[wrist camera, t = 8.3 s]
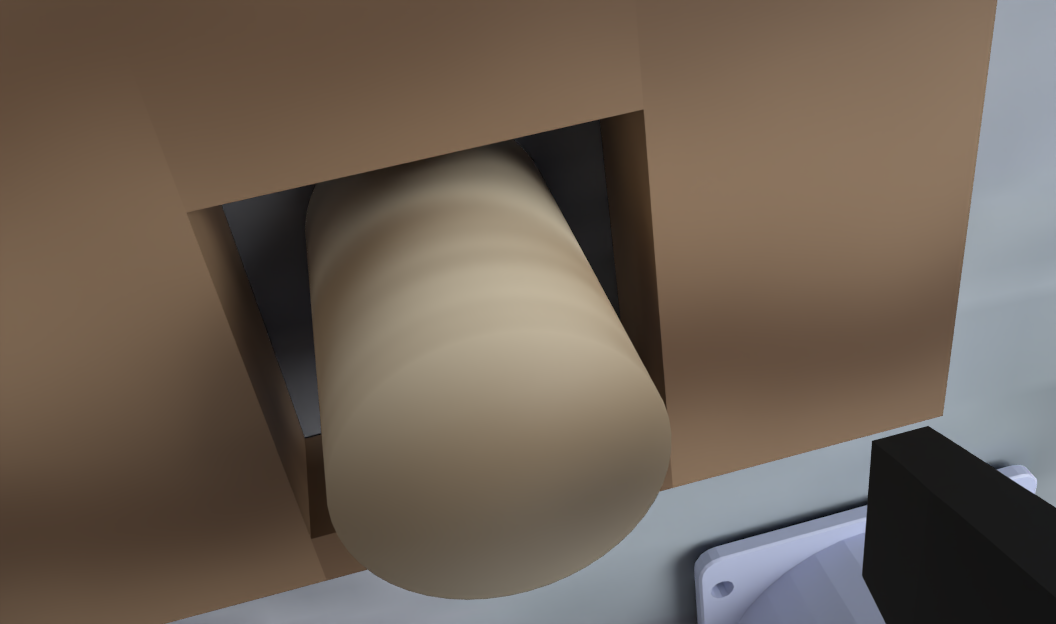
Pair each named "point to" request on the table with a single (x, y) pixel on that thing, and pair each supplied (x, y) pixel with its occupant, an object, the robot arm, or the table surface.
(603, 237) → the table surface
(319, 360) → the birch peg
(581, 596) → the table surface
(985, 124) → the table surface
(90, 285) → the pocket board
